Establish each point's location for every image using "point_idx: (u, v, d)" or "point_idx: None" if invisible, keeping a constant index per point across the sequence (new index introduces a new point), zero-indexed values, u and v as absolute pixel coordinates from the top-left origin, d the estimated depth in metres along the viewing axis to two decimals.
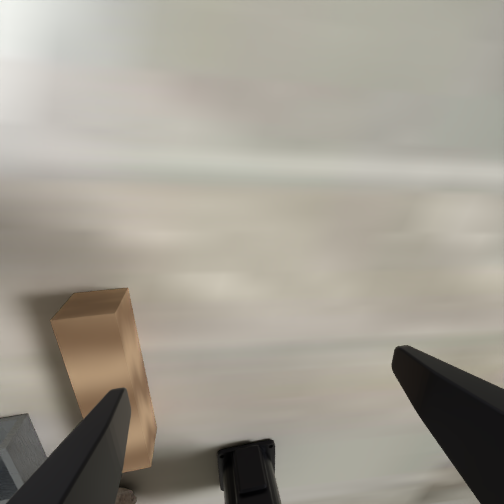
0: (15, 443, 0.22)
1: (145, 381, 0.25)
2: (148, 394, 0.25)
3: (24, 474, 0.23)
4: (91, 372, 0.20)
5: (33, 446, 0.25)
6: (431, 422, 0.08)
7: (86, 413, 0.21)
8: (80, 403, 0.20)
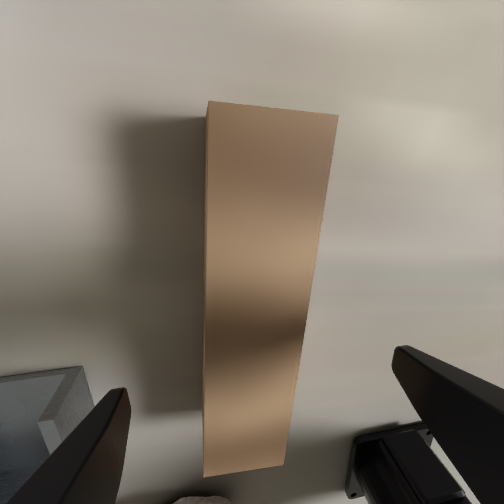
0: (67, 414, 0.12)
1: None
2: None
3: None
4: (251, 255, 0.10)
5: None
6: (431, 422, 0.08)
7: (214, 347, 0.11)
8: (210, 324, 0.10)
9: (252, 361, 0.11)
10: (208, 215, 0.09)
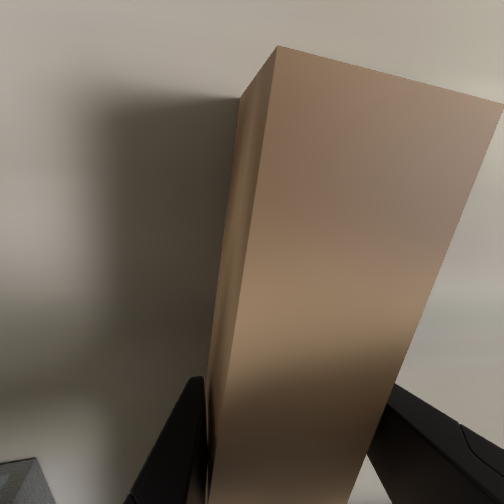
0: None
1: None
2: None
3: None
4: (309, 336, 0.05)
5: None
6: None
7: (227, 473, 0.06)
8: (225, 440, 0.06)
9: (284, 489, 0.07)
10: (245, 268, 0.05)
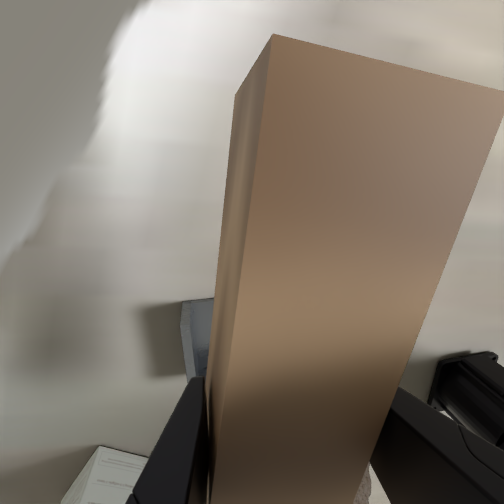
0: None
1: None
2: None
3: None
4: (311, 337, 0.05)
5: None
6: None
7: (228, 478, 0.06)
8: (225, 445, 0.06)
9: (288, 493, 0.07)
10: (243, 268, 0.05)
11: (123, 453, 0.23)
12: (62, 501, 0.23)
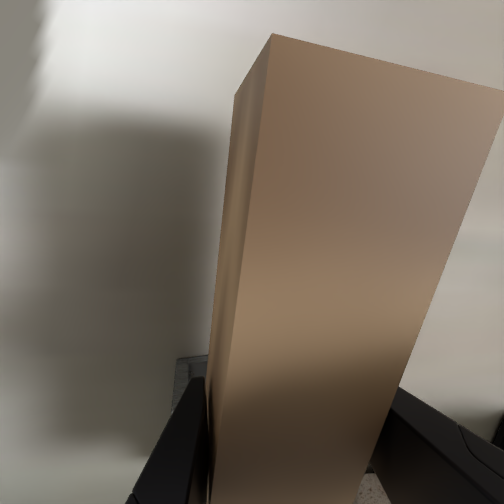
0: None
1: None
2: None
3: None
4: (310, 337, 0.05)
5: None
6: None
7: (228, 478, 0.06)
8: (225, 445, 0.06)
9: (287, 493, 0.07)
10: (243, 268, 0.05)
11: None
12: None
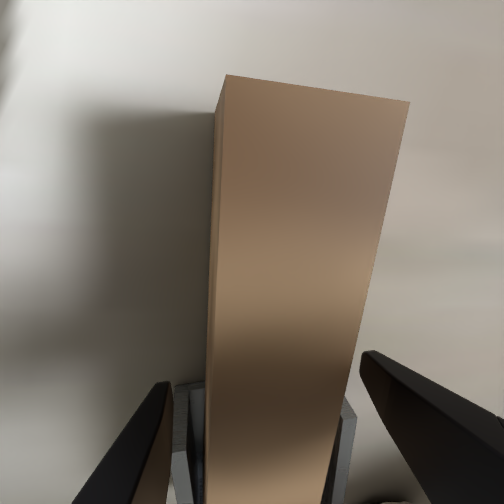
0: None
1: None
2: None
3: None
4: (278, 296, 0.07)
5: None
6: (394, 430, 0.08)
7: (222, 420, 0.08)
8: (218, 390, 0.07)
9: (274, 436, 0.08)
10: (220, 242, 0.06)
11: None
12: None
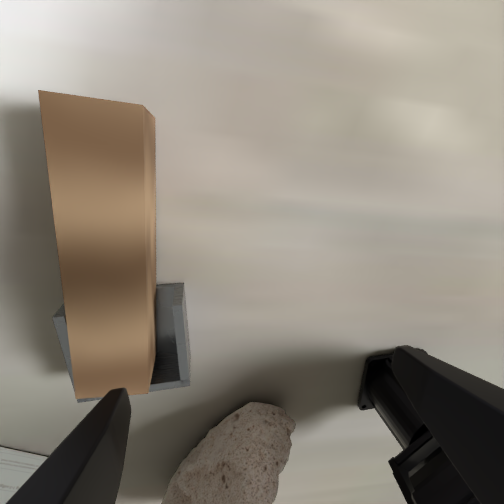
0: (183, 307, 0.18)
1: (154, 273, 0.18)
2: (154, 296, 0.18)
3: (187, 351, 0.19)
4: (89, 206, 0.13)
5: (186, 325, 0.20)
6: (431, 422, 0.08)
7: (69, 281, 0.14)
8: (62, 261, 0.13)
9: (104, 296, 0.14)
10: (49, 174, 0.12)
11: (22, 453, 0.22)
12: None
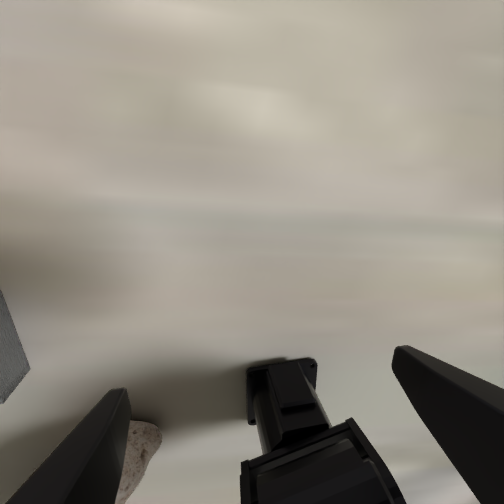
0: None
1: None
2: None
3: None
4: None
5: (8, 336, 0.18)
6: (431, 422, 0.08)
7: None
8: None
9: None
10: None
11: None
12: None
